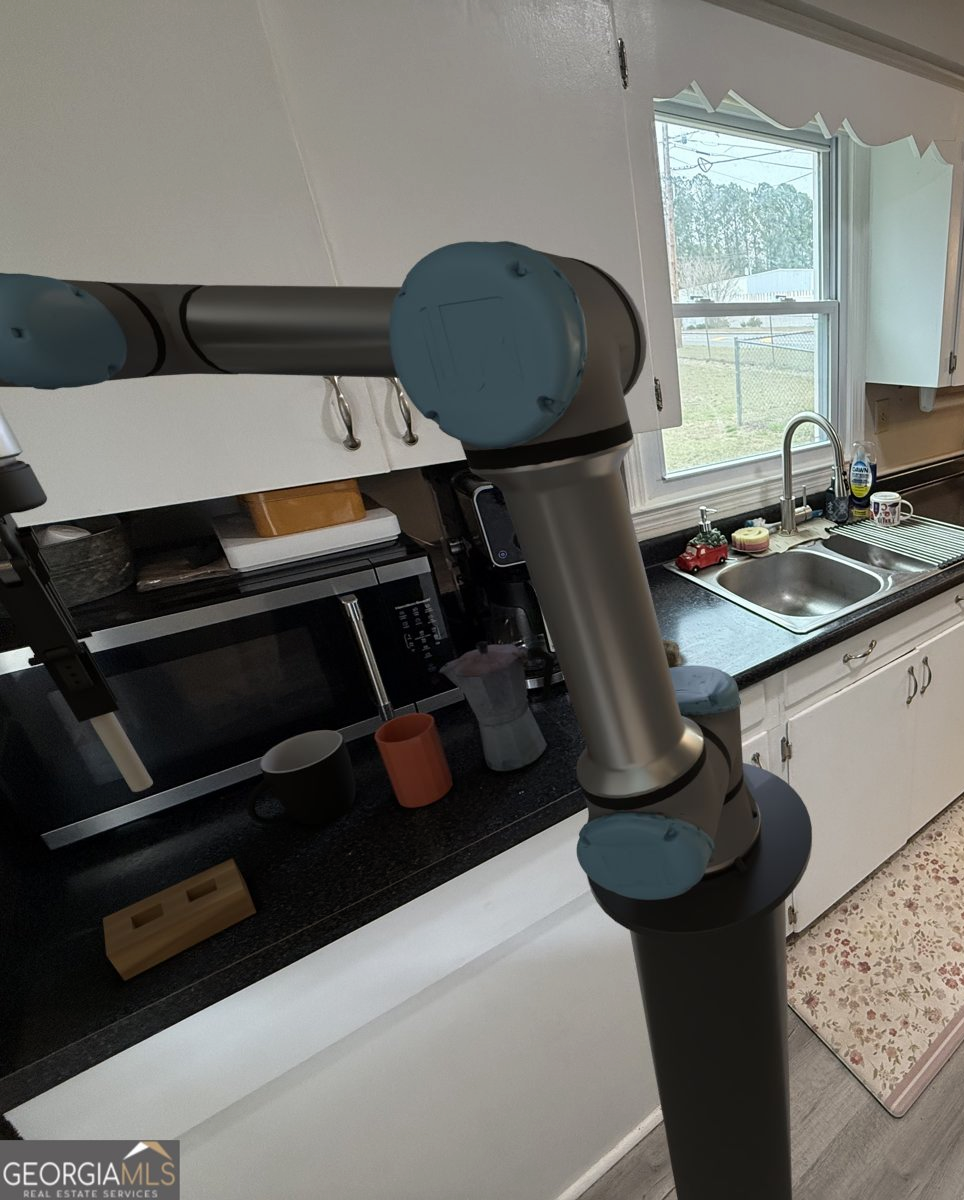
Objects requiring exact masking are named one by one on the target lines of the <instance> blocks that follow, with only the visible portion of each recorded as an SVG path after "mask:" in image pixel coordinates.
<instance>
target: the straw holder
mask: <svg viewBox="0 0 964 1200" xmlns="http://www.w3.org/2000/svg"><path fill="white" fill-rule="evenodd" d="M256 913H257V910H256V907H255V904H254V902H253V899H252V896H251V893H250V891H249V888H248V885H247V882H246V880H245V879H244V876H243V875H242V873H241V871H240V869H239V867H238V865H237V863H236V861H235V859H234V858H232V857H231V858H229V859H228V860H225V861H223V862H221V863H219V864H217V865H215V866H212V867H210V868H208V869H205V870H204V871H202V872H200V873H198V874H196V875H193V876H191V877H189V878H187V879H184V880H182V881H180V882H178V883H176V884H174V885H172V886H170V887H167V888H166V889H163V890H161V891H159V892H157V893H153V894H152V895H150V896H148V897H146V898H144V899H142V900H140V901H137V902H135V903H133V904H130V905H128V906H126V907H124V908H122V909H120V910H118V911H115V912H114V913H111V914H109V915H107V916H105V917H103V918H102V924H103V933H104V944H105V954H106V957H107V959H108V960H109V961H110V963H111V965H112V966H113V967H114V968H115V969H116V972H118V974H119V975H120V978H122V980H123V981H124V982H125V981H128V980H130V979H132V978H134V977H135V976H137V975H139V974H141V973H143V972H145V971H147V970H149V969H151V968H153V967H155V966H157V965H159V964H161V963H162V962H164V961H166V960H168V959H170V958H172V957H174V956H176V955H177V954H180V953H182V952H183V951H186V950H187V949H189V948H191V947H193V946H195V945H197V944H199V943H201V942H202V941H204V940H207V939H209V938H210V937H213V936H215V935H216V934H218V933H220V932H222V931H223V930H225V929H228V928H230V927H231V926H233V925H235V924H238V923H240V922H241V921H243V920H244V919H247V918H248V917H250V916H252V915H255V914H256Z"/></svg>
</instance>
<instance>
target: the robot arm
mask: <svg viewBox="0 0 964 1200" xmlns="http://www.w3.org/2000/svg"><path fill="white" fill-rule="evenodd" d="M646 335H647V334H646V327H645V323H644V320H643V319H642V315H641V312H640V310H639V309H638V307H637V305H636V302H635V301H634V299H633V298H632V296H631V295H630V294H629V292H628V291H627V290H626V289H625V287H624V286H623V285H622V284H621V283H620V282H619V281H618V280H617V279H616V278H614V277H613V275H611V274H610V273H608V272H607V271H605V270H603V269H602V268H600V267H599V266H598V265H595V264H592V263H589V262H587V261H585V260H583V259H582V260H581V259H578V258H575V257H570V256H569V257H568V256H561V255H558V254H553V253H549V252H545V251H541V250H537V249H533V248H531V247H529V246H527V245H525V244H521V243H517V242H514V241H509V240H502V241H501V240H500V241H460V242H455V243H451V244H446V245H443V246H441V247H439V248H437V249H435V250H433V251H431V252H430V253H428V254H427V255H425V256H424V257H421V259H420V260H418V261H417V262H416V263H415V264H414V266H412V267H411V269H410V270H409V271H408V273H407V274H406V275H405V278H404V280H403V282H402V284H401V286H357V285H355V286H354V285H353V286H351V285H348V286H346V285H267V284H265V285H263V284H262V285H259V284H257V285H256V284H255V285H253V284H252V285H251V284H249V285H248V284H247V285H246V284H235V285H234V284H208V285H207V284H189V283H187V284H186V283H185V284H180V283H171V284H170V283H143V282H109V281H108V282H107V281H98V280H97V281H94V280H80V279H79V280H78V279H77V280H76V279H61V278H60V279H59V278H55V277H50V276H46V275H45V276H44V275H34V274H29V273H5V272H0V388H33V389H35V390H44V391H45V390H47V391H55V390H58V389H72V388H81V387H86V386H94V385H99V384H103V383H105V382H110V381H120V380H130V379H131V380H132V379H143V378H149V377H165V376H181V375H231V376H233V375H234V376H235V375H261V376H262V375H266V376H303V377H305V376H306V377H307V376H308V377H314V376H315V377H344V378H347V377H348V378H380V379H381V378H382V379H383V378H386V379H387V378H389V379H398V380H399V382H400V385H401V386H402V388H403V390H404V392H405V394H406V395H407V397H408V398H409V400H410V402H411V403H412V405H414V407H415V408H416V410H418V412H419V413H420V414H421V415H422V417H424V418H425V419H428V420H431V421H433V422H435V424H437V425H438V429H439V430H440V431H441V432H442V433H444V434H446V435H447V436H448V437H451V438H454V439H456V440H457V441H459V442H460V445H461V447H462V450H463V453H464V456H465V459H466V462H467V465H468V467H469V470H470V472H471V473H472V474H474V475H476V476H478V477H479V478H481V479H483V480H485V481H487V482H488V483H490V484H492V485H494V486H495V487H497V489H498V490H500V491H501V493H502V497H503V499H504V502H505V506H506V509H507V511H508V514H509V517H510V520H511V523H512V526H513V529H514V532H515V535H516V538H517V541H518V544H519V547H520V550H521V553H522V556H523V560H524V563H525V564H526V565H525V566H526V568H527V571H528V574H529V577H530V580H531V583H532V586H533V589H534V592H535V596H536V598H537V601H538V604H539V607H540V610H541V613H542V616H543V619H544V622H545V626H546V628H547V631H548V634H549V637H550V640H551V645H552V646H553V651H554V652H555V657H556V659H557V662H558V666H559V668H560V671H561V674H562V677H563V679H564V683H565V685H566V689H567V693H568V694H569V698H570V701H571V704H572V707H573V711H574V713H575V716H576V719H577V722H578V725H579V728H580V731H581V734H582V737H583V740H584V743H585V746H586V747H585V748H584V749H583V751H582V752H581V754H580V756H579V758H578V760H577V763H576V767H575V768H576V771H575V772H576V778H577V781H578V784H579V787H580V790H581V793H582V796H583V799H584V801H585V804H586V808H587V812H588V817H587V822H586V823H585V824H584V825H583V826H582V827H581V829H580V830H579V832H578V837H579V838H578V840H577V844H576V856H577V862H578V863H579V866H580V867H581V869H582V871H583V872H584V873H585V875H586V876H587V875H588V876H589V877H590V878H591V879H592V880H593V881H594V882H596V883H597V884H599V885H600V886H602V887H603V888H605V889H607V890H611V891H613V892H616V893H617V894H619V895H622V896H626V897H630V898H635V899H644V900H658V899H667V898H671V897H675V896H678V895H680V894H683V893H685V892H686V891H688V890H689V889H691V887H692V886H694V885H696V884H697V883H698V882H699V881H704V880H709V879H713V878H716V877H719V876H722V875H724V874H727V873H729V872H731V871H732V870H734V869H736V868H738V870H739V871H740V873H741V874H744V873H745V872H746V871H747V870H748V869H747V867H746V866H745V864H744V862H745V861H746V860H747V859H748V858H749V857H750V855H751V854H752V853H753V851H754V850H755V848H756V846H757V844H758V841H759V838H760V833H761V824H760V812H759V808H758V806H757V804H756V802H755V800H754V798H753V796H752V794H751V792H750V790H749V788H748V786H747V784H746V782H745V780H744V776H743V763H744V760H743V759H744V758H743V741H742V724H741V722H742V721H741V705H742V700H741V697H740V692H739V687H738V684H737V681H736V680H735V678H734V677H733V676H732V675H730V674H729V673H728V672H726V671H723V670H721V669H719V668H716V667H712V666H705V665H681V666H679V667H673V668H669V665H668V661H667V657H666V653H665V649H664V645H663V641H662V640H663V637H662V633H661V628H660V625H659V620H658V616H657V613H656V608H655V604H654V600H653V597H652V592H651V589H650V585H649V580H648V576H647V573H646V569H645V565H644V561H643V557H642V552H641V548H640V544H639V540H638V537H637V536H638V535H637V532H636V528H635V523H634V520H633V516H632V511H631V507H630V504H629V499H628V495H627V492H626V488H625V483H624V479H623V476H622V471H621V465H622V463H623V460H624V458H625V457H626V455H627V454H628V452H629V451H630V449H631V448H632V446H633V444H634V443H635V439H634V433H633V429H632V425H631V420H630V415H629V412H628V408H627V403H626V399H625V397H626V396H627V395H629V393H630V392H631V391H632V389H633V388H634V387H635V385H636V384H637V383H638V381H639V378H640V377H641V374H642V372H643V370H644V367H645V362H646V359H647V358H646V357H647V336H646ZM23 452H24V450H23V448H22V446H21V444H20V441H19V440H18V438H17V436H16V434H15V432H14V429H12V427H11V424H10V423H9V420H8V418H7V417H6V415H5V413H4V412H3V410H2V408H1V407H0V603H1V605H2V606H3V607H2V608H4V610H5V611H6V613H7V615H8V616H9V617H10V619H11V621H12V623H13V624H14V625H15V627H16V628H17V630H18V631H19V633H20V635H21V636H22V637H23V639H24V641H25V642H26V644H27V645H28V647H29V648H30V650H31V652H32V653H33V657H29V658H28V660H27V663H28V664H29V666H30V667H35V666H39V665H43V666H44V668H45V669H46V671H47V672H48V674H49V676H50V677H51V680H52V681H53V683H54V684H55V686H56V688H58V690H59V692H60V694H61V696H62V697H63V699H64V701H65V702H66V704H67V705H68V707H69V709H70V710H71V712H72V714H73V715H74V717H75V719H76V720H77V722H78V723H82V722H85V721H90V720H89V719H92V718H95V717H98V716H101V715H105V714H108V713H111V712H113V713H115V712H117V711H120V706H119V705H118V703H117V702H118V698H117V696H116V694H115V692H114V690H113V689H112V687H111V686H110V683H109V682H108V679H107V678H106V676H105V674H104V673H103V671H102V670H101V668H100V666H99V664H98V662H97V659H95V657H94V655H93V654H92V651H91V650H90V648H89V646H88V644H87V643H86V641H85V640H84V639H88V638H92V637H93V633H92V631H91V629H90V628H85V629H81V630H78V621H77V620H76V619H75V618H73V616H72V615H71V613H70V611H69V609H68V607H67V605H66V604H65V601H64V600H63V598H62V596H61V594H60V592H59V591H58V588H57V587H56V585H55V583H54V582H53V580H52V576H51V569H50V565H49V563H48V561H47V558H46V557H45V556H44V554H43V552H42V550H41V547H40V540H39V539H40V538H39V537H38V535H37V533H36V532H35V530H34V528H33V527H32V526H31V525H29V526H24V527H19V525H18V523H17V522H16V520H15V519H14V517H13V515H12V514H18V513H24V512H28V511H31V510H34V509H37V508H39V507H42V506H44V505H45V504H46V503H47V501H48V497H47V494H46V492H45V490H44V489H43V486H42V484H41V483H40V481H39V479H38V477H37V475H36V473H35V472H34V469H33V468H32V466H31V464H30V463H26V462H25V461H23V460H18V459H17V458H16V457H19V456H20V455H21V454H22V453H23ZM80 640H81V641H80Z"/></svg>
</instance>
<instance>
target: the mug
mask: <svg viewBox="0 0 964 1200" xmlns="http://www.w3.org/2000/svg"><path fill="white" fill-rule="evenodd" d="M260 759H261V760H260V762H259V768H260V770H261V773H262V775H263V779H262V781H261V782H260V783H258V784H257V785H256V786H255V788H254V789H253V790H252V791H251V792H250V794H249V796H248V798H247V801H246V811H247V814H248V816H249V817H250V818H251V819H252V820H253V821H254V822H256V823H259V824H263V825H273V824H279V823H282V822H285V821H288V820H295V821H297V822H298V823H300V824H302V825H308V826H314V825H320V824H324V823H326V822H330V821H332V820H334V819H336V818H338V817H340V816H341V815H343V814H344V813H346V812H347V811H348V810H349V809H350V808H351V807H352V805H353V803H354V802H355V798H356V780H355V775H354V774H355V773H354V770H353V765H352V761H351V757H350V754H349V750H348V747H347V744H346V741H345V739H344V737H343V736H342V734H341V733H340V732H337V731H335V730H330V729H329V730H328V729H323V730H322V729H321V730H314V731H313V730H312V731H308V732H304V733H302V734H298V735H294V736H292V737H290V738H288V739H285V740H284V741H282V742H280V743H278V744H277V745H274V746H273V747H272V748H270V749H269V750H268V751H266V752H265V754H264V755H263V756H262V758H260ZM267 789H270V790H271V791H272V793H273V794H274V796H275V798H277V800H278V802H279V803H280V804H281V805H282V807H283V809H284V811H283V812H282V813H281V814H278V815H276V816H273V817H272V816H271V817H263V816H261V815H259V814H258V813H257V811H256V803H257V800H258V798H259V796H260V795H261V794H262V793H263V792H264V791H265V790H267Z"/></svg>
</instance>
